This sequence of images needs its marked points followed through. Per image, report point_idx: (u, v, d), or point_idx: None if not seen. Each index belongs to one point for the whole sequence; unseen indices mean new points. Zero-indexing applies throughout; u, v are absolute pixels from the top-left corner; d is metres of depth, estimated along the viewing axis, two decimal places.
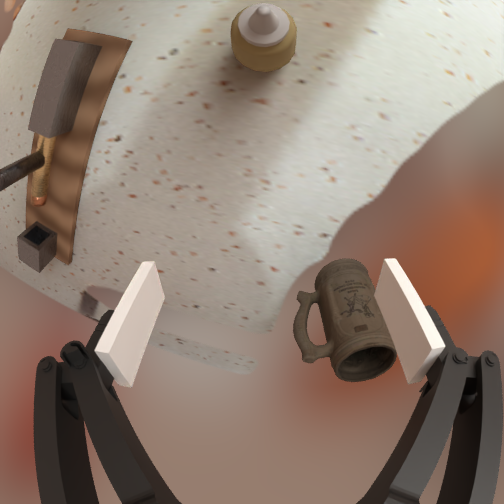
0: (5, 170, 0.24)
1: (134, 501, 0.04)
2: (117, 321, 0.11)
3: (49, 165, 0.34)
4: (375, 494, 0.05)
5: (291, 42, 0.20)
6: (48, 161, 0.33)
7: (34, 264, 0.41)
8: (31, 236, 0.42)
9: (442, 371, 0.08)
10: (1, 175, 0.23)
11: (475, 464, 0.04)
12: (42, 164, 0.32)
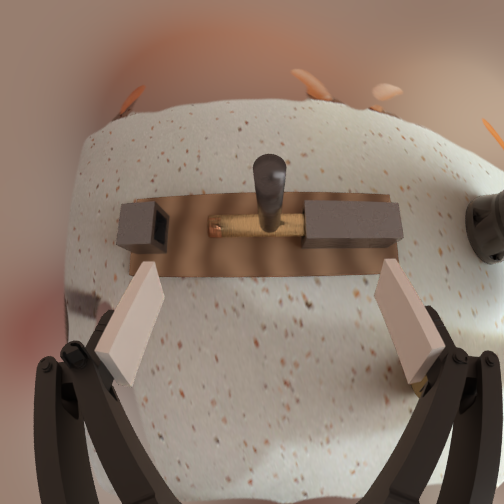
0: (282, 201, 0.30)
1: (134, 501, 0.04)
2: (117, 321, 0.11)
3: (263, 236, 0.40)
4: (375, 494, 0.05)
5: None
6: (269, 235, 0.40)
7: (125, 235, 0.38)
8: None
9: (441, 371, 0.08)
10: (281, 200, 0.29)
11: (475, 464, 0.04)
12: (268, 231, 0.38)
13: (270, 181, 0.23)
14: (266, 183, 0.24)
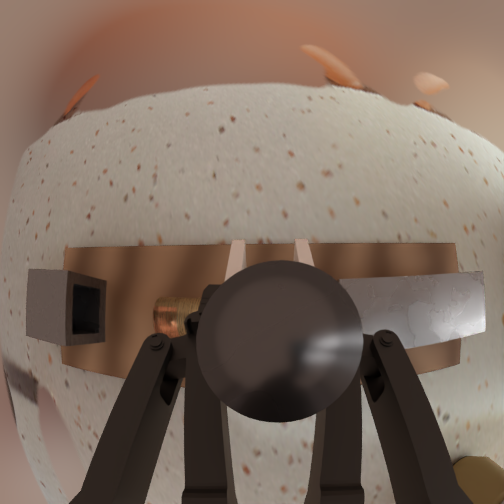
0: None
1: (200, 488, 0.05)
2: None
3: None
4: (313, 490, 0.06)
5: None
6: None
7: (34, 323, 0.19)
8: None
9: None
10: None
11: (413, 453, 0.05)
12: None
13: (279, 421, 0.04)
14: (263, 416, 0.04)
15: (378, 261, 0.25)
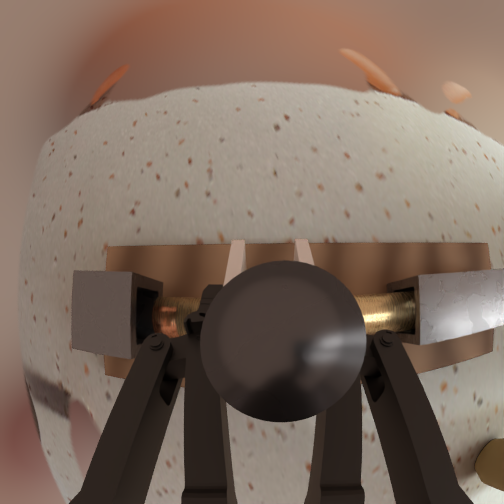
0: None
1: (200, 488, 0.05)
2: None
3: None
4: (313, 490, 0.06)
5: None
6: None
7: (84, 333, 0.18)
8: None
9: None
10: None
11: (414, 453, 0.05)
12: None
13: (283, 420, 0.04)
14: (267, 416, 0.04)
15: (430, 259, 0.25)
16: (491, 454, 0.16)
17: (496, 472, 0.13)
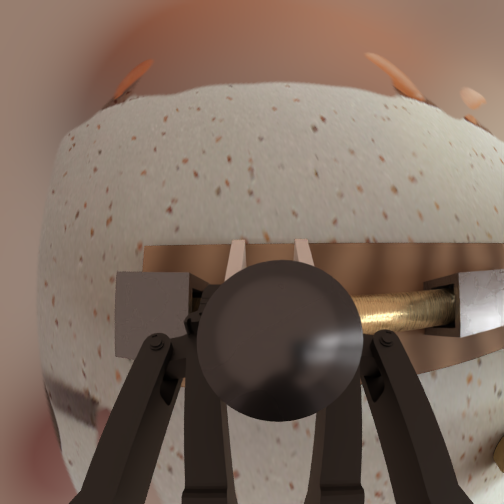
0: None
1: (200, 488, 0.05)
2: None
3: None
4: (313, 491, 0.06)
5: None
6: None
7: (131, 340, 0.18)
8: None
9: None
10: None
11: (414, 453, 0.05)
12: None
13: (279, 420, 0.04)
14: (264, 415, 0.04)
15: (459, 258, 0.25)
16: None
17: None
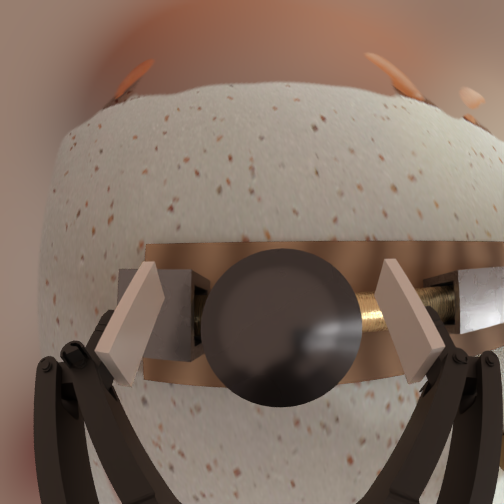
0: None
1: (134, 501, 0.04)
2: (117, 321, 0.11)
3: None
4: (375, 494, 0.05)
5: None
6: None
7: None
8: None
9: (441, 371, 0.08)
10: None
11: (475, 464, 0.04)
12: None
13: (281, 406, 0.04)
14: (266, 401, 0.05)
15: (458, 256, 0.25)
16: None
17: None
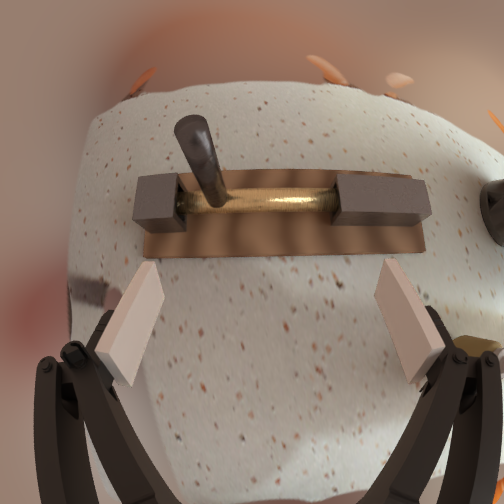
0: (217, 168, 0.28)
1: (134, 501, 0.04)
2: (117, 321, 0.11)
3: (211, 213, 0.38)
4: (375, 494, 0.05)
5: None
6: (217, 211, 0.37)
7: (143, 209, 0.35)
8: None
9: (441, 371, 0.08)
10: (214, 166, 0.27)
11: (475, 464, 0.04)
12: (214, 206, 0.36)
13: (188, 140, 0.21)
14: (186, 142, 0.21)
15: None
16: None
17: None
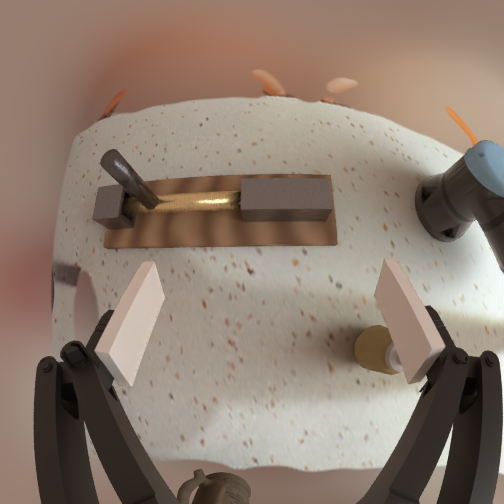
0: (137, 182, 0.38)
1: (134, 501, 0.04)
2: (117, 321, 0.11)
3: (148, 213, 0.48)
4: (375, 494, 0.05)
5: (394, 373, 0.33)
6: (151, 212, 0.47)
7: (99, 211, 0.45)
8: None
9: (441, 371, 0.08)
10: (133, 181, 0.37)
11: (475, 464, 0.04)
12: (147, 208, 0.46)
13: (107, 168, 0.31)
14: (106, 169, 0.31)
15: None
16: (360, 334, 0.43)
17: (361, 347, 0.39)
